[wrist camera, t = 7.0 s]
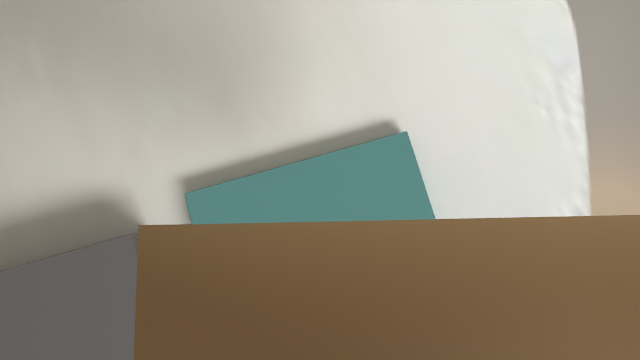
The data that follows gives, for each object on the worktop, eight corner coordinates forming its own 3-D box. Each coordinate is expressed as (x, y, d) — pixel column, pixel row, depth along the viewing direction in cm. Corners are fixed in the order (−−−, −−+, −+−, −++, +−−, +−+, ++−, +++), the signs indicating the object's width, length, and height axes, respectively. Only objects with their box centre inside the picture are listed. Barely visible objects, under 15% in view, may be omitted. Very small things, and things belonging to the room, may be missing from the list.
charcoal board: (191, 415, 21) (178, 435, 19) (1, 475, 20) (-32, 502, 18) (148, 233, 22) (131, 233, 20) (-33, 285, 21) (-68, 290, 19)
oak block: (417, 379, 13) (757, 852, 3) (265, 383, 13) (112, 894, 3) (409, 226, 14) (670, 214, 4) (265, 229, 14) (138, 224, 4)
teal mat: (476, 356, 22) (481, 359, 21) (246, 429, 21) (244, 435, 20) (404, 133, 23) (406, 131, 22) (187, 194, 22) (184, 193, 22)
